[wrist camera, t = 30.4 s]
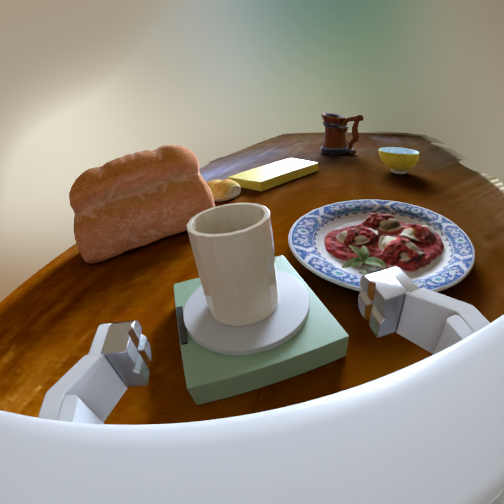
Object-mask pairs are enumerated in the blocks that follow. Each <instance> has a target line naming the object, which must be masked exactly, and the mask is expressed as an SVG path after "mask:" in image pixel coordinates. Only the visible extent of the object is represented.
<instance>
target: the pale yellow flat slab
mask: <svg viewBox="0 0 504 504" xmlns="http://www.w3.org/2000/svg"><path fill="white" fill-rule="evenodd" d="M318 170H319V166H318V163H317V162H312V161H306V160H301V159H295V158H288V159H285V160H281V161H278V162H274V163H271V164H268V165H264V166H261V167H258V168H255V169H251V170H248V171H245V172H242V173H239V174H236V175H233V176H230V177H228V179H230V180H233V181H235V182H237V183H238V184H239V185H240V187H242V188H247V189H252V190H257V191H264V190H267V189H269V188H272V187H275V186H277V185H280V184H283V183H285V182H288V181H291V180H293V179H296V178H299V177H302V176H304V175H307V174H310V173H313V172H316V171H318Z"/></svg>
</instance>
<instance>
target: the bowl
mask: <svg viewBox="0 0 504 504" xmlns="http://www.w3.org/2000/svg"><path fill="white" fill-rule="evenodd" d="M378 150H379V155H380V158H381V160H382V161H383V163H384V164H385V165H386V166H388V167H389V168H390V169H391V172H392V173H396V174H406V173H407V170H409V169H411V168H412V167H414V166H415V164H416V163H417V161H418V158H419V152H418V151H415V150H412V149H407V148H399V147H383V148H379V149H378Z"/></svg>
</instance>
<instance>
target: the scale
mask: <svg viewBox="0 0 504 504" xmlns="http://www.w3.org/2000/svg"><path fill="white" fill-rule="evenodd" d="M275 261H276V271H277V280H278V295H279V303H278V306H277V308H276V309H275V311H274V312H273V313H272V314H271V315H270V316H269V317H267V318H266V319H264V320H262V321H260V322H258V323H255V324H252V325H247V326H229V325H225V324H222V323H220V322H218V321H217V320H215V319H214V318H213V317H212V315H211V314H210V311H209V308H208V305H207V302H206V298H205V295H204V291H203V287H202V284H201V280H200V278H196V279H192V280H188V281H185V282H181V283H177V284H174V296H175V306H176V315H177V323H178V332H179V339H180V347H181V354H182V361H183V367H184V374H185V380H186V386H187V389H188V391H189V393H190V395H191V396H192V398H193V400H194V402H195V403H196V405H200V404H204V403H208V402H212V401H216V400H220V399H224V398H228V397H231V396H235V395H238V394H242V393H245V392H249V391H252V390H255V389H258V388H262V387H265V386H268V385H271V384H274V383H277V382H280V381H283V380H286V379H288V378H291V377H294V376H297V375H299V374H302V373H305V372H307V371H310V370H313V369H315V368H318V367H320V366H323V365H325V364H328V363H330V362H333V361H335V360H337V359H340V358H342V357H344V356H346V352H347V346H348V339H349V335H348V334H347V333H346V332H345V330H344V329H343V328H342V327H341V325H340V324H339V323H338V322H337V320H336V319H335V318H334V317H333V316H332V314H331V313H330V312H329V311H328V309H327V308H326V307H325V306H324V304H323V303H322V302H321V301H320V300H319V298H318V297H317V296H316V295H315V293H314V292H313V291H312V290H311V289H310V287H309V286H308V285H307V284H306V283H305V281H304V280H303V279H302V278H301V277H300V275H299V274H298V273H297V272H296V270H295V269H294V268H293V267H292V266H291V264H290V263H289V262H288V261H287V260H286V258H285V257H284V256H283V255H282V256H278V257H275Z"/></svg>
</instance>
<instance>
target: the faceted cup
mask: <svg viewBox="0 0 504 504" xmlns="http://www.w3.org/2000/svg"><path fill="white" fill-rule="evenodd" d="M186 226H187V231H188V235H189V239H190V243H191V247H192V251H193V254H194V258H195V262H196V266H197V269H198V273H199V277H200V280H201V284H202V287H203V291H204V295H205V298H206V302H207V305H208V308H209V311H210V314H211V315H212V317H213V318H214V319H215V320H217V321H218V322H220V323H222V324H225V325H229V326H247V325H252V324H255V323H258V322H260V321H262V320H264V319H266V318H267V317H269V316H270V315H271V314H272V313H273V312H274V311H275V309H276V308H277V306H278V303H279V295H278V280H277V271H276V261H275V252H274V243H273V234H272V225H271V216H270V211H269V210H268V209H267V208H266V207H265V206H262V205H259V204H255V203H233V204H225V205H221V206H217V207H213V208H210V209H208V210H205V211H203V212H200V213H199V214H197V215H196V216H194V217H192V218H191V219H190V221H189V222H188V223H187V225H186Z"/></svg>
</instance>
